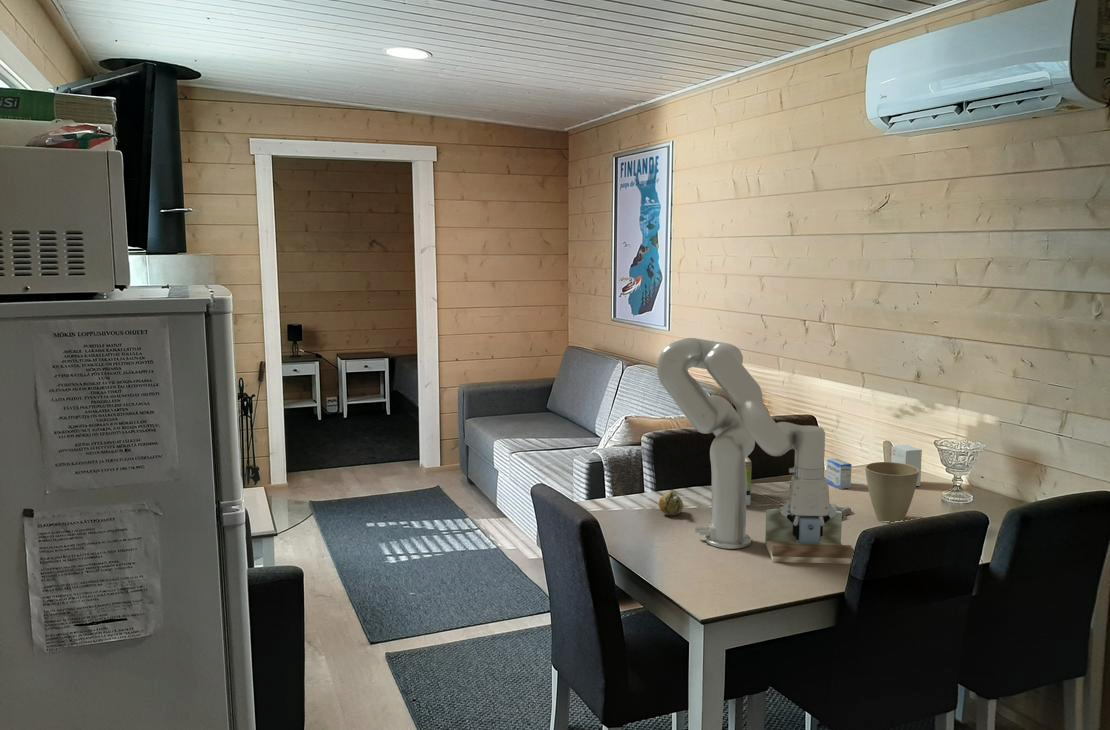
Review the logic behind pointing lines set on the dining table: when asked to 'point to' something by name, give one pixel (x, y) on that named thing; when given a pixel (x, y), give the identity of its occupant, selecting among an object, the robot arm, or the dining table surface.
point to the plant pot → (891, 489)
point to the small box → (907, 457)
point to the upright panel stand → (788, 550)
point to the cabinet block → (809, 530)
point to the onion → (671, 504)
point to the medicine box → (839, 473)
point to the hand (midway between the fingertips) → (807, 537)
